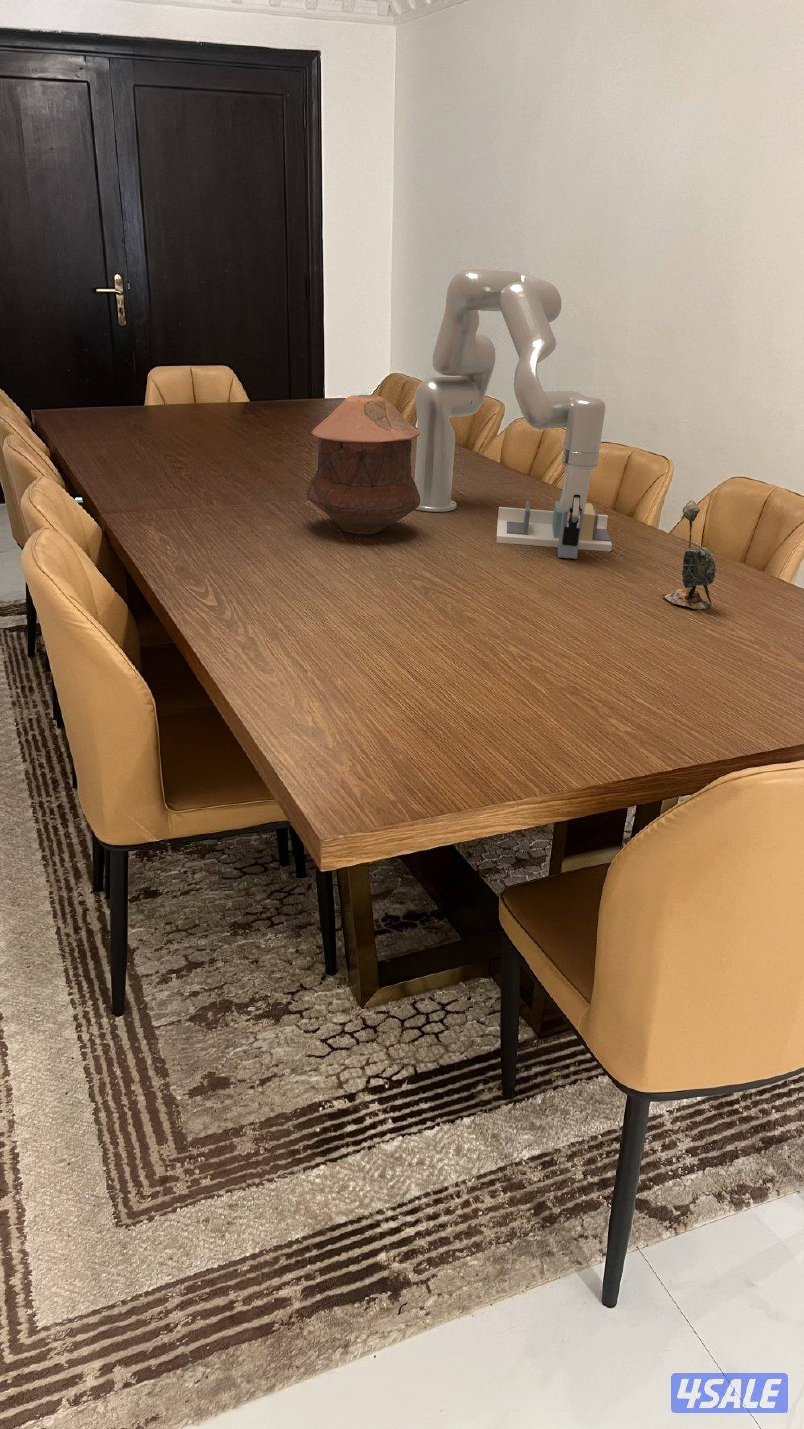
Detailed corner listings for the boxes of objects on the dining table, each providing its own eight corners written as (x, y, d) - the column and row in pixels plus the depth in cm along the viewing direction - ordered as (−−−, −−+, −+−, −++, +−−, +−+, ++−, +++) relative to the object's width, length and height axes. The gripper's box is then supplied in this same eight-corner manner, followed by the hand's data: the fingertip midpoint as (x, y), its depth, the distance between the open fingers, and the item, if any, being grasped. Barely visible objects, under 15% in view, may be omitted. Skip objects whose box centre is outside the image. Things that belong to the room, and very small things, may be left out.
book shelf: (496, 542, 232) (499, 509, 228) (497, 525, 246) (500, 494, 243) (611, 551, 230) (615, 518, 227) (605, 533, 244) (609, 502, 241)
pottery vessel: (435, 527, 240) (444, 396, 228) (388, 552, 219) (396, 409, 207) (339, 511, 250) (342, 384, 237) (285, 533, 229) (286, 395, 216)
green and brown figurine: (683, 615, 192) (702, 510, 183) (657, 596, 201) (673, 495, 193) (722, 614, 193) (743, 510, 185) (694, 595, 203) (712, 495, 195)
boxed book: (558, 557, 222) (564, 511, 217) (557, 549, 227) (563, 505, 223) (576, 558, 221) (583, 513, 217) (575, 551, 227) (581, 506, 223)
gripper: (560, 449, 223) (550, 529, 231) (564, 465, 208) (553, 550, 216) (595, 452, 223) (583, 532, 231) (601, 468, 207) (588, 553, 215)
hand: (568, 540), depth 223 cm, fingers closed on boxed book, 6 cm apart
